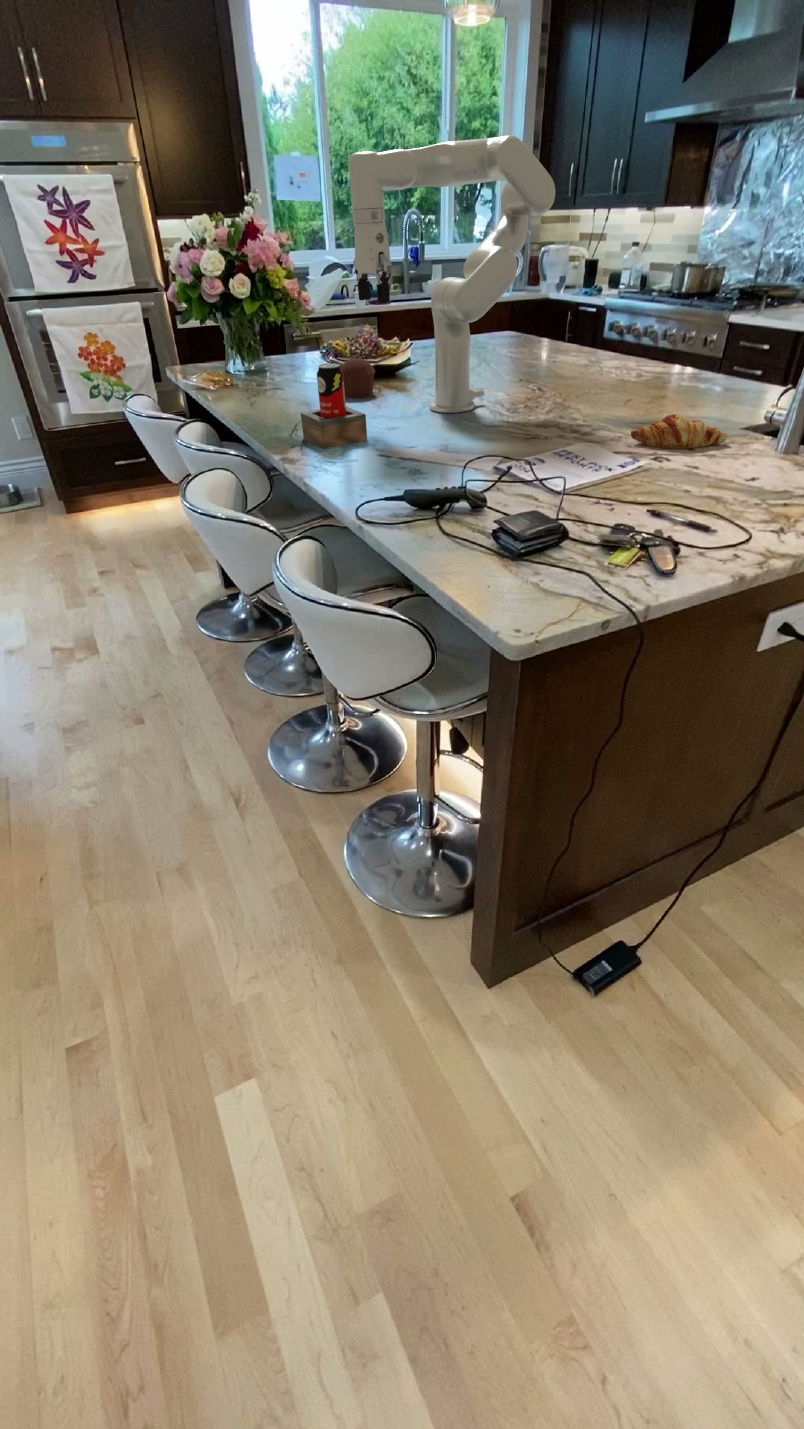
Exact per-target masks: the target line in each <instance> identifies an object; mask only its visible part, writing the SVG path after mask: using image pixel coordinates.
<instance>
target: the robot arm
mask: <svg viewBox="0 0 804 1429" xmlns="http://www.w3.org/2000/svg"><path fill="white" fill-rule="evenodd" d="M348 168H349V169H348V170H349V181H350V182H349V183H350V185H349V186H350V195H351V208H352V209H351V210H352V221H353V224H352V225H353V227H354V259H353V262H352V264H353V267H354V273H355V276H356V278H355V279H356V283H357V294H358V300H359V301H367V300H371V298H372V295H371V294H372V293H371V283H370V282H371V281H370V280H369V279H370V275H373V276H375V279H376V281H377V284H376V300H377V303H378V304H386V303H390V301H391V298H390V294H391V293H390V283H391V279H390V278H391V276H392V274H391V272H392V271H391V270H392V265H393V264H392V262H391V253H390V244H389V237H388V232H387V231H388V229H387V226H386V214H385V198H384V197H385V196H384V194H385V192H387V191H402V190H406V189H411V188H423V187H429V188H431V187H433V188H444V187H445V188H447V187H456V186H463V185H472V184H481V183H482V184H483V183H491V182H498V181H505V182H506V183H505V184H504V185H503V187H502V190H501V194H500V212H499V214H500V215H499V219H498V222H497V224H496V226H495V227H494V228H493V229H492V230H491V231H490V233H489V234H488V235H487V236H486V237H485V238H484V239H483V240H482V241H481V242H480V243H479V244H478V245H477V247H475V248H474V250H473V251H472V252H471V253H470V254H469V255H468V256H467V258H466V260H465V261H464V265H463V270H462V271H463V276H464V278H463V277H458V276H457V277H454V276H451V277H444V278H442V279H440V280H438V282H437V283H436V284H435V286H434V287H433V290H432V291H431V292H432V293H431V298H430V299H431V300H430V305H431V306H430V308H431V313H432V320H433V326H434V327H433V328H434V332H433V333H434V384H435V385H434V386H435V387H434V390H435V393H434V394H435V400H433V401H431V403H430V404H429V409H430V410H431V411H434V412H437V413H446V414H450V413H452V414H453V413H463V412H469V411H472V410H473V409H474V408H475V406H476V403H475V401H473V400H475V399H477V398H482V397H484V396H485V391H484V389H477V390H474V389H473V388H471V387H470V378H471V377H470V376H471V375H470V374H471V372H470V371H471V370H470V369H471V330H470V323H473V322H476V321H478V320H479V319H481V318H482V317H484V315H485V314H486V313H487V312H488V311H490V309H491V308H492V307H494V305H495V304H496V303H497V302H498V301H499V300H500V299H501V298H502V297H503V295H504V294H506V293H507V291H508V290H509V289H510V288H511V287H512V285H513V284H514V281H515V280H516V276H517V273H518V261H517V258H516V256H517V255H518V254H519V253H520V252H521V251H522V248H524V245H525V244H526V239H527V235H528V228H529V227H528V226H529V216H531V217H532V216H533V217H534V216H535V217H536V216H541V215H544V214H545V213H547V212H548V211H549V210H550V209H551V208H552V207H553V204H554V202H555V199H556V187H555V186H556V185H555V182H554V180H553V178H552V176H551V174H549V172H548V170H547V169H546V168H545V167H544V166H543V164H542V163H541V161H539V160H538V159H537V157H536V156H535V155H534V153H533V152H532V151H531V150H530V148H529V147H528V146H527V145H526V144H525V142H523V141H522V140H521V139H520V138H519V137H517V136H516V135H513V134H508V135H502V136H494V137H484V138H474V139H465V140H453V141H445V142H439V143H436V144H432V145H429V146H423V147H419V148H418V147H417V148H411V149H404V148H397V149H389V150H385V151H381V152H377V151H360V152H354V153H352V154H351V155H350V156H349V158H348Z"/></svg>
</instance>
